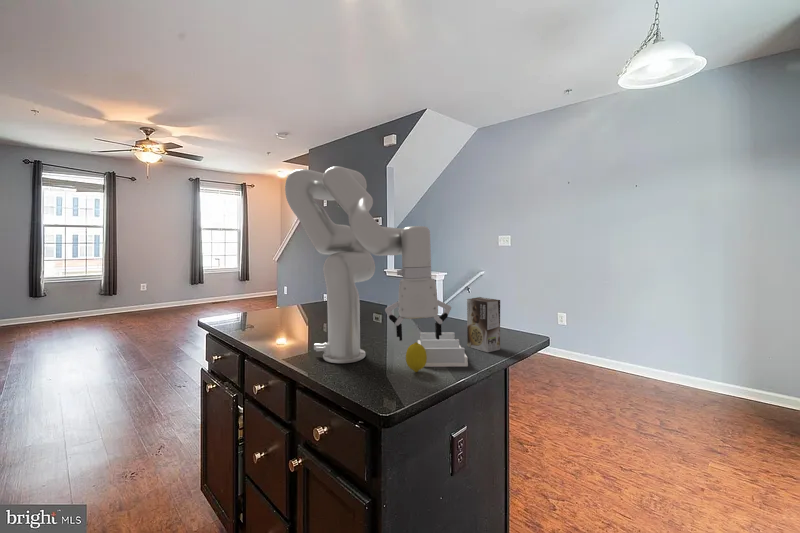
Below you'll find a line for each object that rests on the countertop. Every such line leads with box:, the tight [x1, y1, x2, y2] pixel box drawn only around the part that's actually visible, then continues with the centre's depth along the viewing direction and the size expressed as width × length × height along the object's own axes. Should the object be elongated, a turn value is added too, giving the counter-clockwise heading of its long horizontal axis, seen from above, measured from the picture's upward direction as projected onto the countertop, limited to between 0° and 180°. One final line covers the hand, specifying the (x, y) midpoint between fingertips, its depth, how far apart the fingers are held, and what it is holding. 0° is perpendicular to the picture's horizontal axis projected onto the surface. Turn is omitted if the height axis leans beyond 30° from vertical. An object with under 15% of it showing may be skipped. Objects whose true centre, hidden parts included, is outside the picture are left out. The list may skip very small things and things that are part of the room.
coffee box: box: [466, 296, 501, 353], centre depth 117 cm, size 9×6×16 cm
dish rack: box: [417, 331, 469, 368], centre depth 109 cm, size 13×19×5 cm
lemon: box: [405, 341, 427, 373], centre depth 95 cm, size 6×6×8 cm
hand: (419, 338), depth 94 cm, fingers open, 9 cm apart
